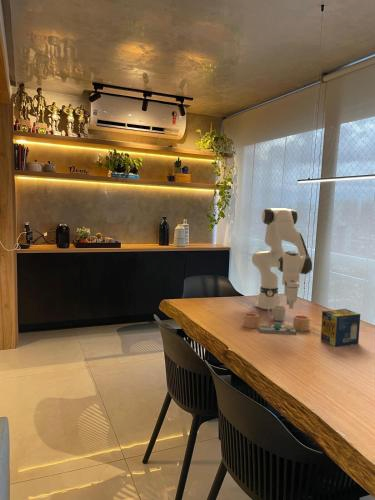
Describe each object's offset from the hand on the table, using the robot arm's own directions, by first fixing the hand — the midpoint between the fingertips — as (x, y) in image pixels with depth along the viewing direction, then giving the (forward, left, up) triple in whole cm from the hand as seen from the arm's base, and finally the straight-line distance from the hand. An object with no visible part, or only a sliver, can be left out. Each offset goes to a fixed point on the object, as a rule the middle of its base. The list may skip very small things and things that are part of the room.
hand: (289, 306), depth 202 cm
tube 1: (-7, -20, -14) cm, 26 cm away
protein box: (+12, +24, -15) cm, 30 cm away
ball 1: (0, -6, -11) cm, 13 cm away
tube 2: (-7, +8, -14) cm, 18 cm away
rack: (0, -6, -14) cm, 15 cm away
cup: (-23, -4, -15) cm, 28 cm away
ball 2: (0, 0, -11) cm, 11 cm away
